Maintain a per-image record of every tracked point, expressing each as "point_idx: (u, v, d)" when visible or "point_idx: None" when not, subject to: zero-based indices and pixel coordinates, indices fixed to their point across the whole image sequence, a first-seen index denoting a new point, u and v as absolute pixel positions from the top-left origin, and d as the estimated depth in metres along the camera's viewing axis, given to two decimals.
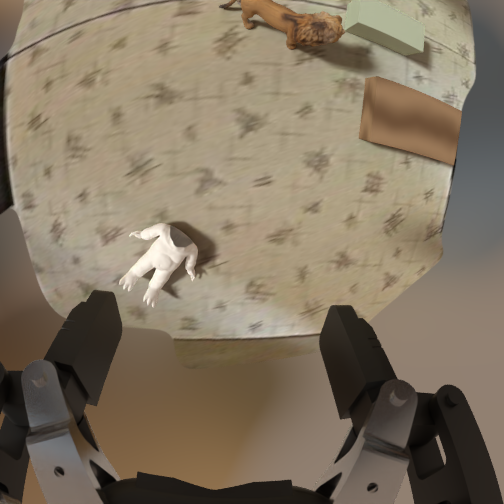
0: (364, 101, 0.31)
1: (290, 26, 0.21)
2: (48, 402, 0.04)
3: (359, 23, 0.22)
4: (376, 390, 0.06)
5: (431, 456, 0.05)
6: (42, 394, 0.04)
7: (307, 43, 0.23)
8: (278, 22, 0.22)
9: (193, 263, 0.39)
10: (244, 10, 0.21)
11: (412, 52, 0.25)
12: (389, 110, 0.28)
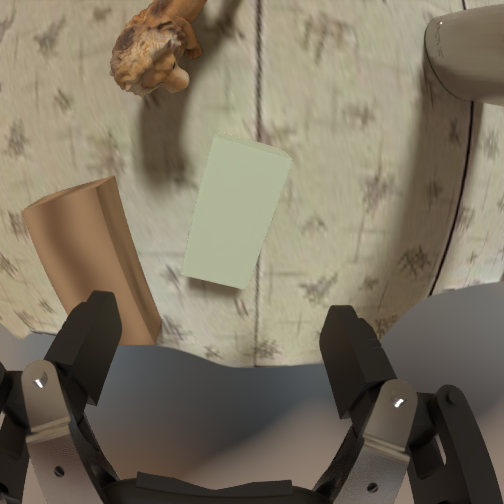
0: (80, 185, 0.20)
1: None
2: (48, 402, 0.04)
3: (212, 140, 0.16)
4: (376, 390, 0.06)
5: (431, 456, 0.05)
6: (42, 394, 0.04)
7: None
8: None
9: None
10: None
11: None
12: (64, 224, 0.19)
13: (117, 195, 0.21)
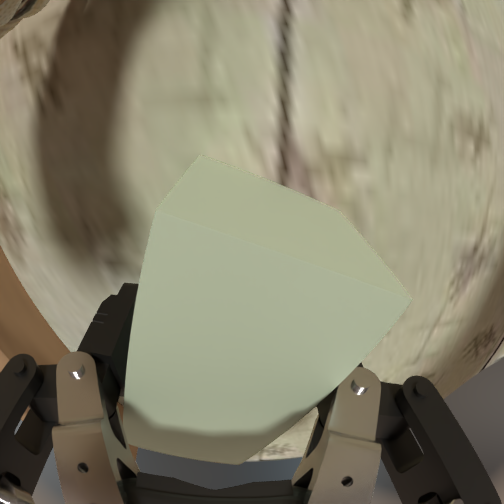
0: None
1: None
2: (89, 393, 0.05)
3: (155, 220, 0.04)
4: None
5: (407, 447, 0.06)
6: (77, 386, 0.05)
7: None
8: None
9: None
10: None
11: None
12: None
13: (8, 272, 0.09)
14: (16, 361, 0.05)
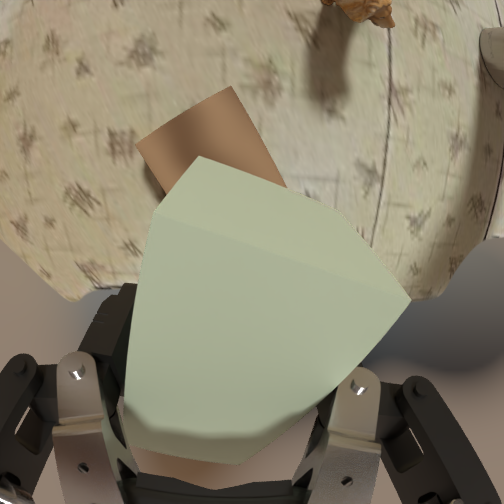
0: None
1: None
2: (89, 393, 0.05)
3: (152, 223, 0.04)
4: None
5: (407, 447, 0.06)
6: (77, 386, 0.05)
7: None
8: None
9: None
10: None
11: None
12: (198, 135, 0.20)
13: None
14: (16, 361, 0.05)
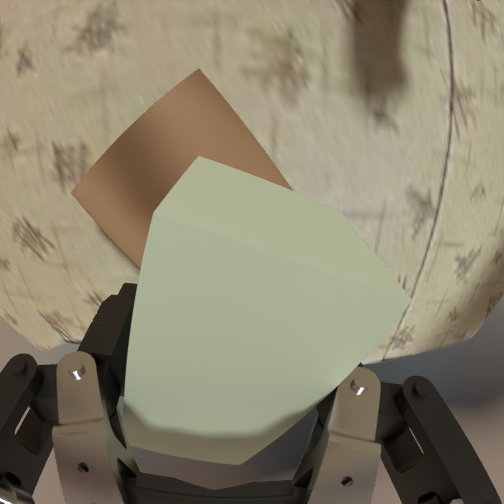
0: None
1: None
2: (89, 393, 0.05)
3: (153, 223, 0.04)
4: None
5: (407, 447, 0.06)
6: (77, 386, 0.05)
7: None
8: None
9: None
10: None
11: None
12: (158, 162, 0.12)
13: None
14: (16, 362, 0.05)
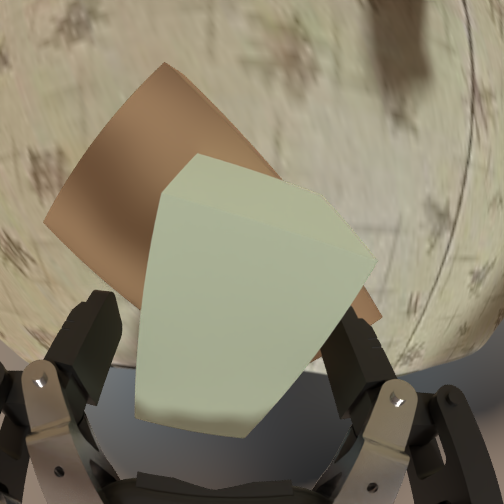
0: None
1: None
2: (48, 402, 0.04)
3: (161, 202, 0.05)
4: (376, 390, 0.06)
5: (431, 456, 0.05)
6: (42, 394, 0.04)
7: None
8: None
9: None
10: None
11: None
12: (129, 179, 0.10)
13: (205, 96, 0.11)
14: None
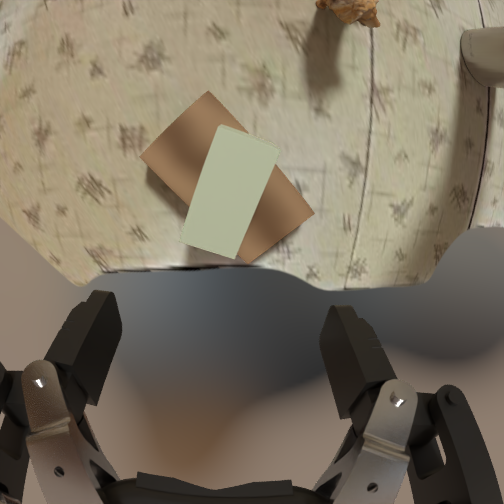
0: None
1: None
2: (48, 402, 0.04)
3: (217, 129, 0.19)
4: (376, 390, 0.06)
5: (431, 456, 0.05)
6: (42, 394, 0.04)
7: None
8: None
9: None
10: None
11: None
12: (190, 137, 0.23)
13: None
14: None
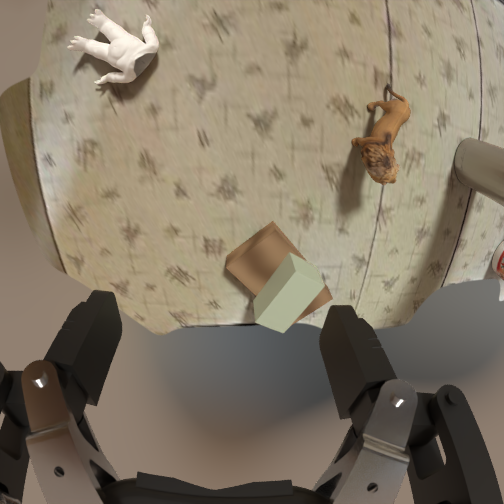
0: (254, 235, 0.41)
1: (380, 139, 0.29)
2: (48, 402, 0.04)
3: (294, 271, 0.35)
4: (376, 390, 0.06)
5: (431, 456, 0.05)
6: (42, 394, 0.04)
7: (365, 153, 0.31)
8: (381, 129, 0.29)
9: (114, 80, 0.27)
10: (389, 102, 0.28)
11: (255, 311, 0.40)
12: (262, 259, 0.40)
13: None
14: None
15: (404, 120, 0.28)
